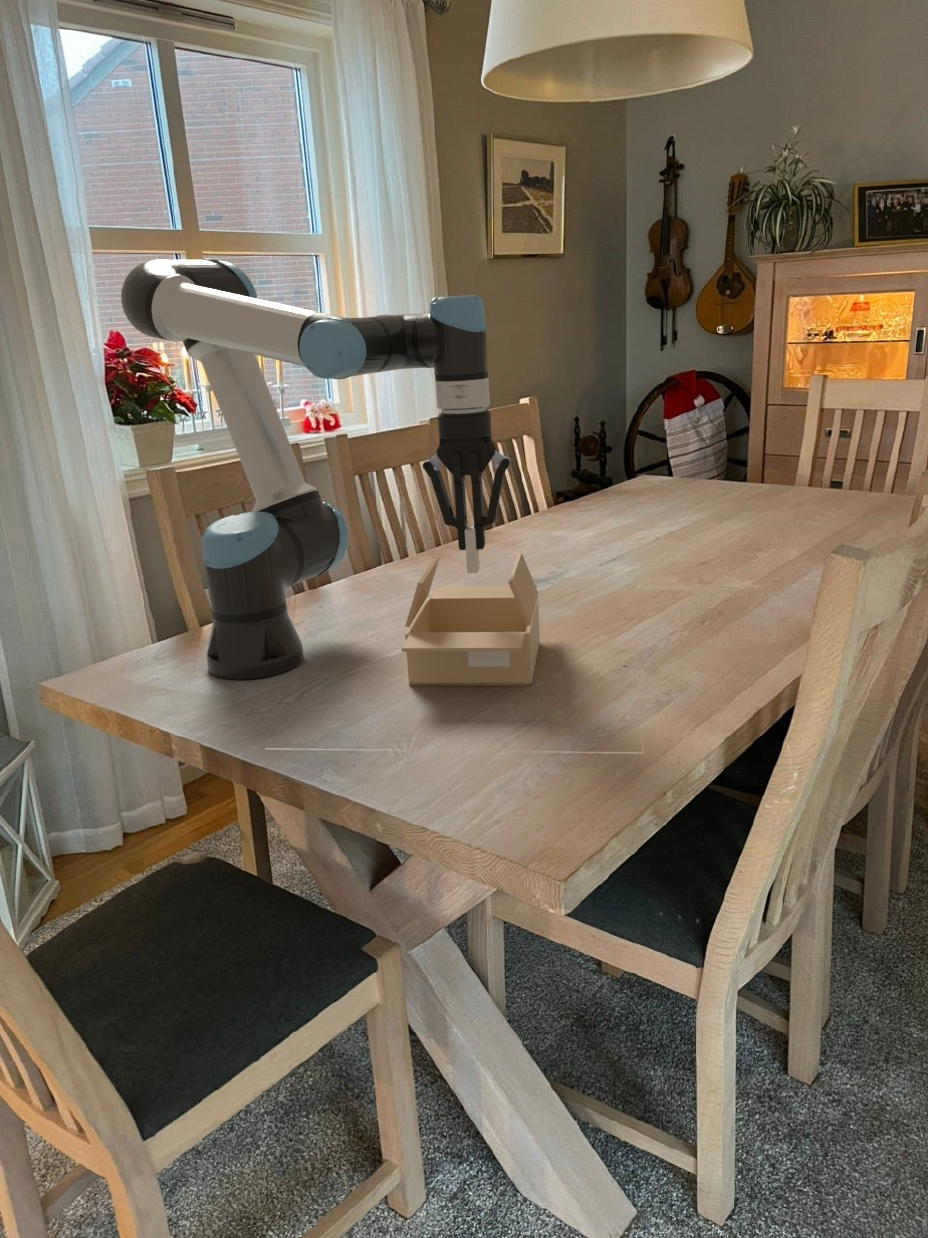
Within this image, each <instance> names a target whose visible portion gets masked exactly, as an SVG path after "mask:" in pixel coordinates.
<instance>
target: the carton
mask: <svg viewBox="0 0 928 1238" xmlns="http://www.w3.org/2000/svg"><path fill="white" fill-rule="evenodd" d="M539 607H540V606H539V596H537V600H536V605H535V609H534V613H533V618H532V622H531V625H530V626H526V623H525V621H524V619H523V616H522V614H521V612H520V609H519V607H518V604H517V602H516V600H515V597H514V595H513V593H512V590H511V588H510V585H491V586H490V585H489V586H488V585H487V586H486V585H485V586H483V585H482V586H479V585H478V586H477V585H476V586H475V585H474V586H437V587H436V589H435V590H434V591H433V593H432V595H431V597H427V598H426V600H425V602H424V603H423V605H422V607H421V608H420V610H419V612H418V613H417V615H416V617H415V618H414V620H413V622H412V624H411V625H410V627H407V630H406V632H405V633H404V636H405V637H404V638H405V641H404V644H403V645H402V647H401V652H402V653H406V663H407V665H406V666H407V674H408V675H407V677H408V686H412V687H413V686H415V687H416V686H418V687H419V686H423V687H424V686H426V687H427V686H432V687H433V686H434V687H435V686H439V687H440V686H443V687H445V686H447V687H448V686H452V687H453V686H456V687H457V686H458V687H460V686H461V687H462V686H463V687H464V686H465V687H467V686H471V687H472V686H476V687H477V686H479V687H482V686H484V687H485V686H486V687H487V686H489V687H491V686H493V687H494V686H497V687H499V686H500V687H501V686H502V687H504V686H505V687H507V686H509V687H510V686H512V687H514V686H515V687H517V686H518V687H520V686H521V687H525V686H528V687H529V686H530V687H531V686H533V681H534V676H535V669H536V665H537V660H538V654H539V649H540V645H541V644H540V643H541V642H540V641H541V639H540V614H539V613H540V612H539V611H540V610H539Z"/></svg>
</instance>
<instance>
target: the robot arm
mask: <svg viewBox="0 0 928 1238" xmlns="http://www.w3.org/2000/svg"><path fill="white" fill-rule="evenodd" d="M120 293H121V294H120V298H121V299H120V300H121V306H122V310H123V312H124V315H125V316H126V317H125V318H126V319H127V320H128V321H129V323H130V325H132V327H134V328H135V330H137V331H138V332H140V333H141V334H144V335H145V336H148V337H151V338H154V339H156V338H157V339H159V340H165V341H169V342H174V343H181V342H182V344H183V346H184V347H185V351H186V352H187V355H188V356H189V358H192V359H194V360H195V361H196V360H197V361H199V362H200V363H201V365H202V368H203V370H204V373H205V376H206V378H207V380H208V383H209V385H210V387H211V390H212V393H213V395H214V397H215V400H216V403H217V404H218V408H219V410H220V413H221V415H222V418H223V421H224V423H225V426H226V428H227V430H228V433H229V435H230V438H231V440H232V444H233V446H234V448H235V450H236V453H237V456H238V457H239V461H240V463H241V465H242V468H243V470H244V473H245V475H246V478H247V480H248V482H249V487H250V489H251V490H252V493H253V495H254V498H255V504H254V506H253V508H252V511H247V512H243V513H240V514H236V515H235V514H232V515H229V516H226V517H223V518H221V519H217V520H216V521H214V522H212V523H211V524H210V525H208V526H207V527H206V529H204V532H203V533H202V538H201V541H202V542H201V543H202V555H201V556H202V557H201V558H202V561H203V564H204V570H205V577H206V583H207V590H208V596H209V597H208V598H209V602H210V608H211V609H210V610H211V615H212V616H211V617H212V625H211V630H210V631H211V632H210V637H209V642H208V646H207V652H206V663H207V669H208V671H209V673H210V675H211V674H212V675H213V676H215V677H217V678H222V679H227V680H254V679H261V678H266V677H267V678H268V677H271V676H275V675H280V674H282V673H285V672H288V671H290V670H292V669H294V668H297V666H298V665H300V664H301V663H302V662H303V661H304V658H305V657H304V655H305V654H304V648H303V643H302V640H301V639H300V636H299V633H298V632H297V630H296V628H295V626H294V624H293V621H292V620H291V617H290V615H289V613H288V606H287V598H286V597H287V596H286V589H287V588H289V587H291V586H294V585H297V584H300V583H302V582H305V581H307V580H310V579H312V578H315V577H319V576H322V575H324V574H325V573H327V572H328V571H330V570H333V569H334V568H336V567H337V566H338V565H339V564H340V563H341V562H342V560H343V558H344V557H345V555H346V550H347V549H348V546H349V545H348V544H349V530H348V529H349V528H348V525H347V522H346V519H345V517H344V516H343V515H342V513H341V512H340V510H339V509H338V508H337V507H334V505H332V504H331V503H329V502H325V501H323V499H322V497H321V495H320V493H319V490H318V488H317V487H315V486H313V485H311V484H309V483H307V482H306V480H305V479H304V476H303V473H302V470H301V468H300V466H299V464H298V461H297V458H296V455H295V453H294V450H293V448H292V445H291V443H290V440H289V437H288V435H287V432H286V430H285V428H284V427H285V426H284V425H283V423H282V419H281V417H280V415H279V413H278V410H277V407H276V405H275V402H274V399H273V397H272V395H271V392H270V389H269V387H268V385H267V382H266V379H265V376H264V374H263V371H262V369H261V367H260V366H261V365H260V364H259V362H258V358H257V356H260V357H264V358H268V359H272V360H277V361H279V362H280V361H281V362H285V363H289V364H293V365H297V366H301V367H306V369H307V370H308V371H309V372H310V373H312V375H313V376H315V377H317V378H320V379H323V380H326V379H327V380H329V379H330V380H331V379H333V380H344V379H348V378H351V377H357V376H363V375H367V374H368V375H370V374H375V373H383V372H390V371H396V370H406V369H407V370H408V369H425V368H426V369H430V368H431V369H432V368H433V369H434V379H435V394H436V395H435V396H436V398H435V399H436V408H437V409H439V410H441V412H439V414H438V415H437V424H438V425H437V427H438V440H439V443H438V447H437V449H436V454H435V455H433V456H432V457H431V458H428V459H426V460H425V461H424V462H423V463H422V469H423V470H424V471H425V473H426V474H427V476H428V477H429V478H430V482H431V485H432V487H433V491H434V493H435V496H436V500H437V502H438V507H439V510H440V512H441V516H442V519H443V522H444V525H446V526H451V527H454V528H455V529H456V530H457V542H458V545H457V546H458V549H459V550H460V551H465V555H466V556H465V557H466V559H465V560H466V573H467V574H478V572H479V570H480V552H479V551H481V550H484V548H485V545H486V534H485V527H486V526H489V525H492V524H494V523H495V521H496V518H497V516H498V510H499V504H500V499H501V495H502V494H501V493H502V488H503V483H504V477H505V474H506V471H507V469H508V468H509V466H510V464H511V462H512V458H511V456H509V455H506V456H505V455H504V454H502V453H500V452H499V451H497V449H496V448H497V447H496V445H495V444H494V441H493V437H492V417H491V415H492V414H491V411H489V410H488V409H487V407H489V406H490V404H491V399H490V380H489V371H488V355H487V354H488V353H487V352H488V350H487V349H488V348H487V346H488V345H487V330H488V326H487V325H486V316H485V315H486V314H485V305H484V301H483V299H482V298H481V297H480V296H479V295H475V294H473V295H471V294H470V295H468V294H467V295H453V296H452V295H451V296H440V297H439V296H438V297H433V298H432V299H431V300H430V302H429V312H423V313H407V314H406V313H405V314H403V313H402V314H401V313H400V314H379V315H376V316H375V315H374V316H362V317H343V316H338V315H335V314H330V313H323V312H320V311H316V310H311V309H310V310H309V309H307V308H306V309H305V308H301V307H297V306H294V305H293V306H292V305H289V304H283V303H279V302H274V301H269V300H264V299H259V298H258V294H257V290H256V288H255V286H254V284H253V282H252V281H251V279H250V278H249V276H248V275H247V274H246V273H245V271H244V270H242V269H241V268H240V267H238V266H237V265H235V264H233V263H232V262H231V263H230V261H229V262H228V261H224V260H217V259H213V258H202V259H152V260H148V261H144V262H142V263H140V264H138V265H137V266H135V267H134V268H133V269H132V270H131V271H130V272H129V273H128V275H127V276H126V277H125V279H124V282H123V285H122V287H121V292H120ZM492 459H493V467H494V469H496V470H495V473H494V475H493V476H494V477H493V482H492V487H491V491H490V492H491V493H490V498H489V503H488V507H487V508H488V509H487V513H486V515H485V511H484V510H485V509H484V490H483V489H484V488H483V473H484V471H485V470H486V469H487V467H488V465H489V464H490V462H491V460H492ZM441 463H442V464H443V465H444V466H445V468H446V469H447V470H448V472H449V473H450V474H451V475H452V477H453V478H452V480H453V489H454V503H455V513H454V511H453V506H452V504H451V500H450V497H449V494H448V491H447V488H446V485H445V481H444V479H443V475H442V473H441V468H442V464H441ZM466 476H470V482H471V493H472V495H471V496H472V509H473V510H472V511H473V523H474V524H473V525H468V516H467V501H466V499H467V498H466V480H465V479H466Z"/></svg>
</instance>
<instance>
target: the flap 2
mask: <svg viewBox="0 0 928 1238" xmlns="http://www.w3.org/2000/svg"><path fill="white" fill-rule="evenodd" d="M508 586H510V588H511V590H512V593H513V595H514V597H515V600H516V602H517V604H518V607H519V609H520V612H521V614H522V616H523V619H524V621H525V623H526V626H530V625H531V622H532V618H533V613H534V609H535V605H536V600H537V596H538V595H539V591H538V587H537V585H536V584H535V581H534V578H533V576H532V574H531V572H530V569H529V567H528V565H527V562H526V559H525V557H524V555H523V553H522V552H519V553H518V554H517V555H516V559H515V562H514V564H513V568H512V570H511V574H510V576H509V579H508ZM538 597H539V596H538Z"/></svg>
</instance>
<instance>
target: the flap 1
mask: <svg viewBox="0 0 928 1238" xmlns="http://www.w3.org/2000/svg"><path fill="white" fill-rule="evenodd" d="M440 558H441V555H440V554H438V553H436V554H435V556H434V558H433V559H432V561H431V562H430V564H429V565H428V567H427V569H426V570H425V571H424V572H423V575H422V576H421V577H420V578H419V580H418V581H417V585H416V588H415V592H414V596H413V599H412V602H411V606H410V608H409V612H408V615H407V619H406V623H405V627H407V628H409V627H410V625H411V624H412V622H413V620H414V618H415V617H416V615H417V613H418V612H419V610H420V608H421V607H422V605H423V603H424V602H425V600H426V598H429V597H428V596H429V595H430V594H429V593H430V591H431V588H432V585H433V581H434V577H435V575H436V572H437V568H438V565H439V562H440Z"/></svg>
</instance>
